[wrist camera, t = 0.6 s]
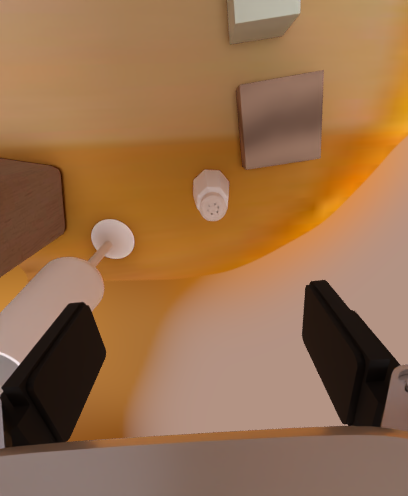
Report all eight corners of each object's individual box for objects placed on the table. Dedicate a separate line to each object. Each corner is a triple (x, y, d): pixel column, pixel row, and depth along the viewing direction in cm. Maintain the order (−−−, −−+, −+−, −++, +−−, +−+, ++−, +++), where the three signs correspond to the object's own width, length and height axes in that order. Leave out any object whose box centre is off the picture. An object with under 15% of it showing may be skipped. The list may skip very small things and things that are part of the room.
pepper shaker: (223, 162, 34) (230, 173, 24) (234, 199, 36) (246, 224, 26) (186, 176, 35) (178, 192, 25) (199, 211, 37) (197, 240, 27)
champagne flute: (104, 264, 41) (-14, 414, 19) (82, 227, 38) (-84, 351, 16) (141, 251, 40) (63, 395, 18) (122, 213, 37) (3, 324, 15)
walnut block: (235, 90, 31) (239, 84, 27) (309, 78, 30) (323, 70, 27) (241, 166, 35) (246, 169, 31) (308, 156, 34) (320, 158, 30)
